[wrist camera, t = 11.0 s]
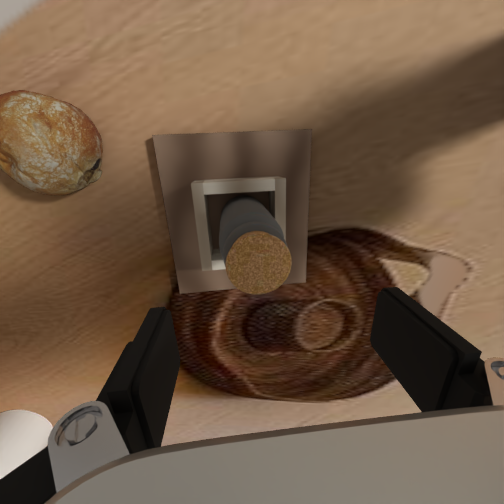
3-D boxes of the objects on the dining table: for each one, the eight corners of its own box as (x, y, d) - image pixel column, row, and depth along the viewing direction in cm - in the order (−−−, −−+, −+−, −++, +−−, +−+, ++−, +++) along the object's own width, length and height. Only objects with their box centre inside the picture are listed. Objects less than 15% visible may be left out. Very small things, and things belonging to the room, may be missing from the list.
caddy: (308, 130, 29) (325, 124, 24) (303, 278, 36) (315, 296, 31) (155, 136, 28) (140, 131, 23) (181, 289, 35) (174, 310, 30)
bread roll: (93, 195, 33) (93, 217, 27) (-18, 166, 26) (-50, 186, 20) (111, 120, 30) (115, 126, 24) (-8, 67, 23) (-42, 57, 18)
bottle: (215, 233, 31) (208, 292, 17) (227, 188, 29) (230, 214, 15) (258, 244, 32) (283, 308, 18) (272, 202, 31) (312, 238, 17)
